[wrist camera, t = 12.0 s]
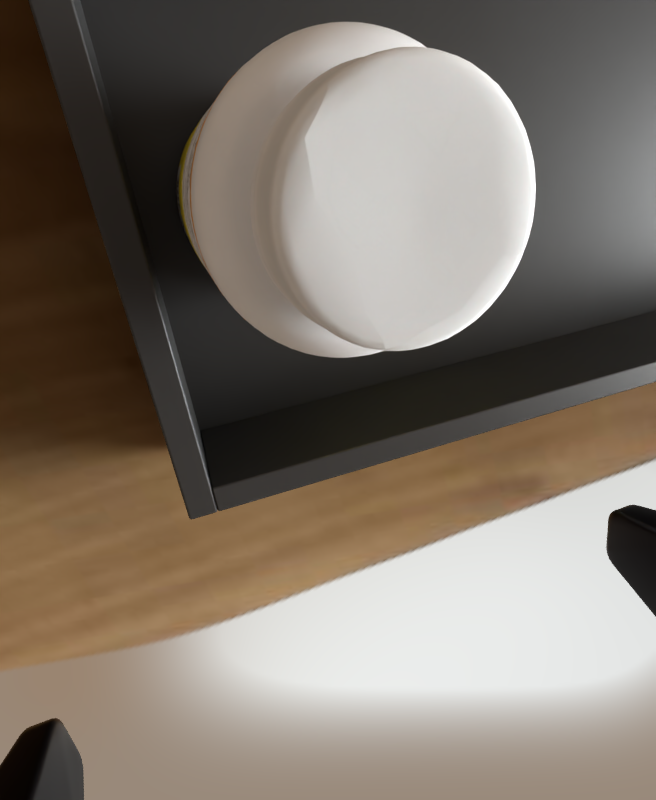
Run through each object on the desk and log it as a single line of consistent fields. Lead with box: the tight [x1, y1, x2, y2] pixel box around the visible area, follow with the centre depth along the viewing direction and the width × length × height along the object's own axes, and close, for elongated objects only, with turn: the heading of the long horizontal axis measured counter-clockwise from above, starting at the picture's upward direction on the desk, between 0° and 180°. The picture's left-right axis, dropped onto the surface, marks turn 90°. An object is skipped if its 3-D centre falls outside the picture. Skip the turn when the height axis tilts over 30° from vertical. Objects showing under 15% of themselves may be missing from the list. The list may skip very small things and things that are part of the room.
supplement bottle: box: [176, 22, 536, 358], centre depth 12 cm, size 6×6×10 cm
